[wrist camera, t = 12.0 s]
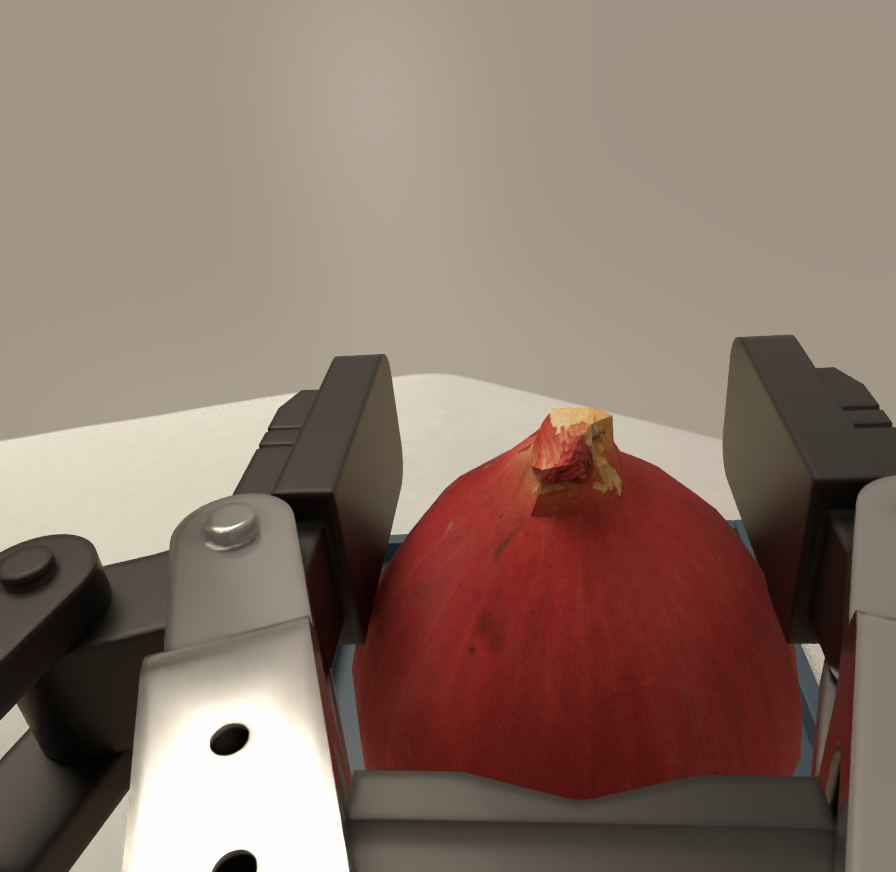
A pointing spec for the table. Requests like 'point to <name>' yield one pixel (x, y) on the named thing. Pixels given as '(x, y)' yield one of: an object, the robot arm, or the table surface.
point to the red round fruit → (575, 630)
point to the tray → (349, 711)
